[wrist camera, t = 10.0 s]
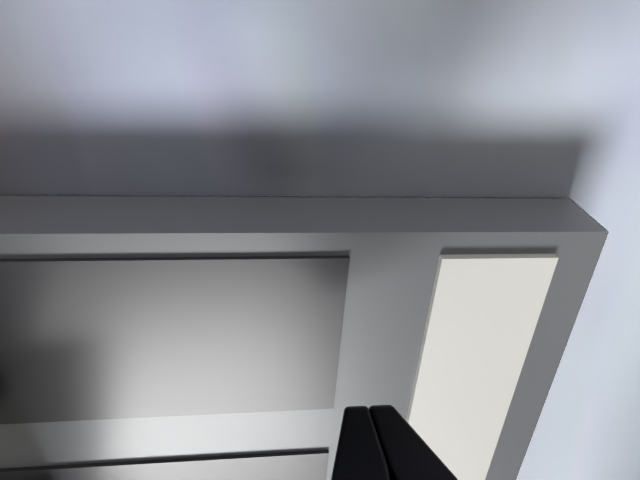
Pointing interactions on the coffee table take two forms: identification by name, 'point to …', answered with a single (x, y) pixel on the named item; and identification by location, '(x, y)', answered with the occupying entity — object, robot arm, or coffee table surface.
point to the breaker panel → (278, 330)
